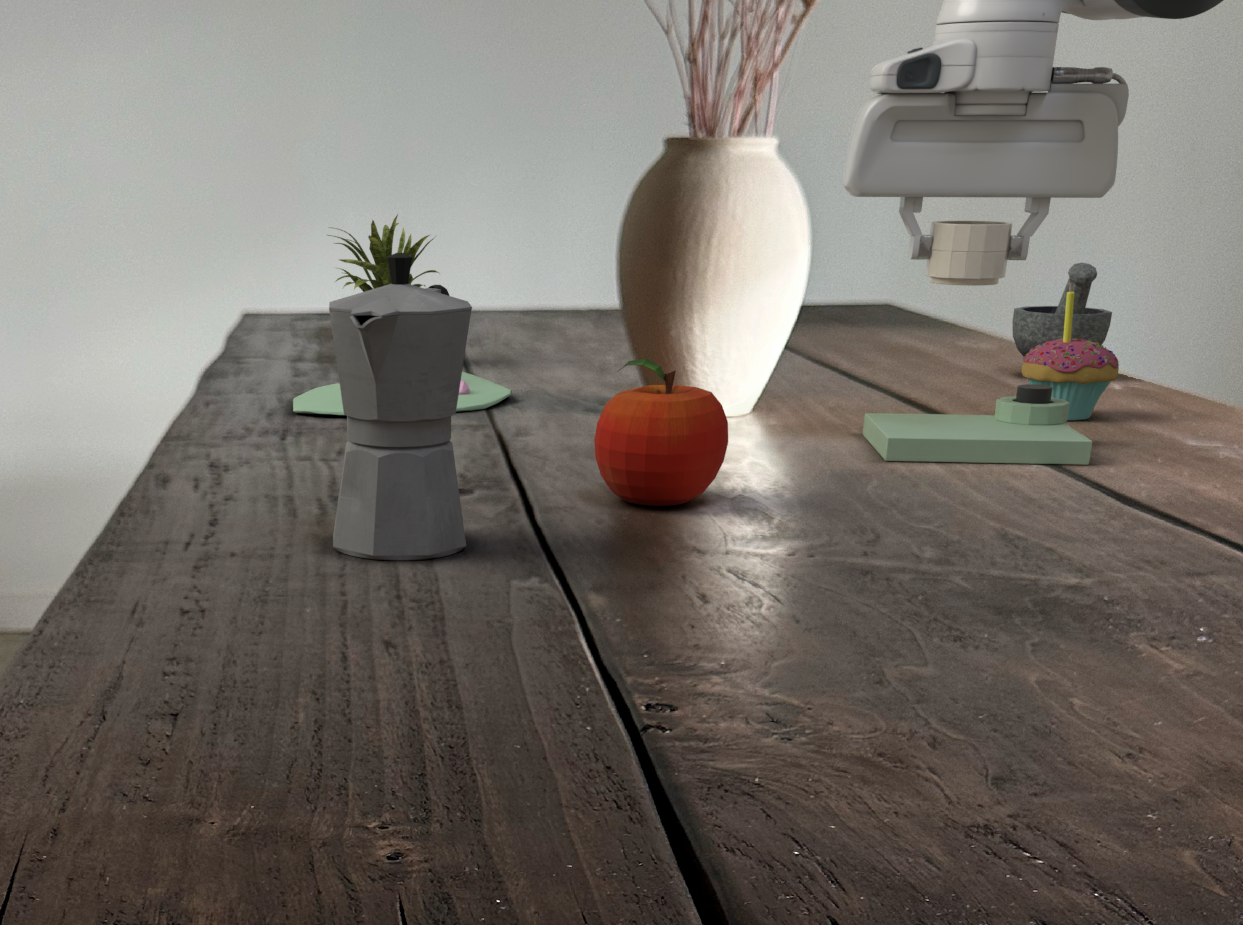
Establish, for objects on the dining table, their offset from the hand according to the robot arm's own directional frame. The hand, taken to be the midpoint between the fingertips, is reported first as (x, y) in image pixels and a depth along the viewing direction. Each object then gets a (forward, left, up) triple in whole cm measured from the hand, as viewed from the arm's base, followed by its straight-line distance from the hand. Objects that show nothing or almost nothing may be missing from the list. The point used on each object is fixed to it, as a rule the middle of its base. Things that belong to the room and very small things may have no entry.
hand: (965, 259), depth 135 cm
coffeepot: (+41, +37, -15) cm, 57 cm away
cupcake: (-15, -22, -15) cm, 31 cm away
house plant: (+53, -54, -15) cm, 77 cm away
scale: (-3, -3, -15) cm, 16 cm away
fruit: (+24, +22, -15) cm, 36 cm away
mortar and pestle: (-21, -50, -15) cm, 56 cm away
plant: (+48, -25, -15) cm, 56 cm away
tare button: (-9, -7, -12) cm, 16 cm away
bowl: (0, 0, -2) cm, 2 cm away
